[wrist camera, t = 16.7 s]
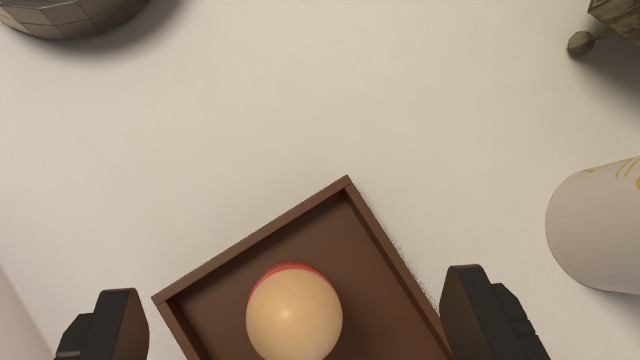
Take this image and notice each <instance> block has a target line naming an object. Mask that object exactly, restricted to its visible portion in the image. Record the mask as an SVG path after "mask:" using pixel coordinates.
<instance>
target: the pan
mask: <svg viewBox="0 0 640 360" xmlns="http://www.w3.org/2000/svg"><path fill="white" fill-rule="evenodd" d="M147 1H148V0H0V21H2V22H3V23H4V24H6V25H8V26H10V27H13V28H15V29H18V30H20V31H23V32H25V33H28V34H30V35H33V36H37V37H45V38H57V39H76V38H81V37H86V36H91V35H96V34H100V33H104V32H105V31H107V30H109V29H111V28H113V27H115V26H117V25H119V24H121V23H122V22H124V21H126V20H128V19H130V17H132V16H133V15H134V14H135V13H136V12H137V11H138V10H139V9H140V8H141V7H142V6H143V5H144V4H145V3H146V2H147Z"/></svg>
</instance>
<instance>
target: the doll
mask: <svg viewBox="0 0 640 360" xmlns="http://www.w3.org/2000/svg"><path fill="white" fill-rule="evenodd" d="M342 321H343V315H342V308H341V304H340V301H339V298H338V296H337V294H336V292H335V290H334V288H333V286H332V285H331V283H330V282H329V281H328V280H327V278H326V277H324V276H323V275H322V274H321V273H319V272H318V271H316V270H315V269H314V268H312V267H311V266H309V265H308V264H306V263H304V262H302V261H299V260H292V259H288V260H282V261H279V262H277V263H275V264H273V265H271V266H270V267H269V268H268V269H267V270H266V271H265V272H264V273H263V275H262V276H261V278H260V279H259V280H258V282H257V283H256V285H255V286H254V288H253V290H252V292H251V294H250V296H249V299H248V303H247V310H246V328H247V333H248V336H249V339H250V341H251V343H252V345H253V347H254V348H255V350H256V351H257V352H258V353H259V354H260V356H262V357H263V358H264V359H265V360H322V359H323V358H325V357H326V356H327V355H328V354H329V353H330V351H331V350H332V349H333V348H334V346H335V344H336V343H337V341H338V338H339V336H340V333H341V329H342Z"/></svg>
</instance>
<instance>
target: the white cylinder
mask: <svg viewBox="0 0 640 360" xmlns="http://www.w3.org/2000/svg"><path fill="white" fill-rule="evenodd" d="M546 233H547V239H548V243H549V246H550V248H551V251H552V253H553V255H554V257H555V258H556V260H557V262H558V263H559V264H560V266H561V267H562V268H563V269H564V270H565V271H566V272H567V273H568V274H569V275H570V276H571V277H573V278H574V279H575V280H577V281H578V282H580V283H582V284H584V285H586V286H589V287H592V288H595V289H600V290H607V291H615V292H623V293H630V294H638V295H640V156H639V157H635V158H631V159H627V160H623V161H619V162H615V163H611V164H607V165H603V166H599V167H595V168H591V169H587V170H584V171H581V172H578V173H576V174H574V175H572V176H570V177H569V178H567V179H566V180H565V181H564V182H563V183H562V184H561V185H560V186H559V187H558V188H557V190H556V191H555V193H554V194H553V196H552V198H551V200H550V203H549V206H548V209H547V214H546Z"/></svg>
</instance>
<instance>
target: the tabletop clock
mask: <svg viewBox="0 0 640 360" xmlns="http://www.w3.org/2000/svg"><path fill="white" fill-rule="evenodd" d="M587 13H589V14H590V15H592V16H594V17H595V18H597V19H598V20H600V21H601V22H603V23H604V24H606V26H605V27H603V28H601V29H599V30H598V31H596V32H594V33H592V34H591V33H590V32H586V31H579V32H576V33H575V34H574V35H573V36H571V37H570V39H569V42H568V49H569V50H570V51H571V52H572V53H573V54H575V55H585V54H587V53H588V52H589V51H590V50H592V49H593V47H594V44H595V41H596V40H599V39H602V38H605V37H608V36H611V35H613V34H616V33H620V34H622V35H623V36H625V37H626V38H628V39H629V40H631V41H633V42H634V43H636V44H637V45H639V46H640V0H591V2H590V5H589V8H588V12H587Z"/></svg>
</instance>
